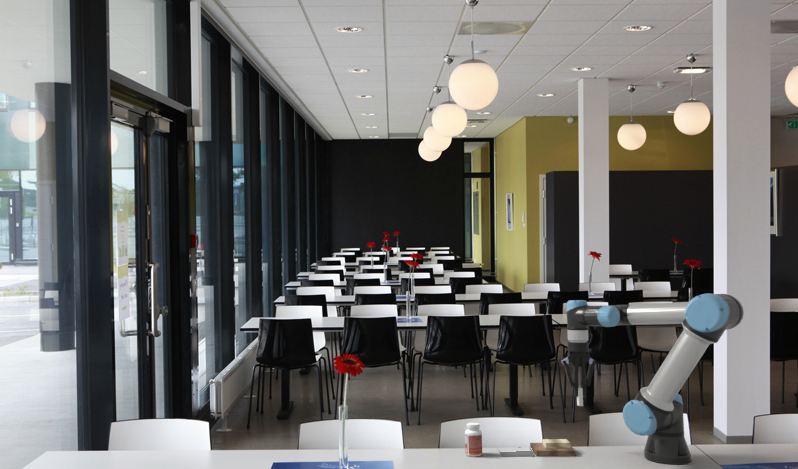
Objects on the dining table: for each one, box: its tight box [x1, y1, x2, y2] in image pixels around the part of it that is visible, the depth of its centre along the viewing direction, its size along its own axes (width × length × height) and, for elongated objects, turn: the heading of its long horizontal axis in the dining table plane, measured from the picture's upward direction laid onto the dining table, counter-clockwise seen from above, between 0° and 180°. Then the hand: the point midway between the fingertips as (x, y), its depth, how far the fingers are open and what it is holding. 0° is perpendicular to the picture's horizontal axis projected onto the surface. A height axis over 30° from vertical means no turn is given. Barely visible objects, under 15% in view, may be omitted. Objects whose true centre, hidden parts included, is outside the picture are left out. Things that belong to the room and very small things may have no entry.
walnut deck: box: [529, 442, 577, 457], centre depth 224 cm, size 14×12×2 cm
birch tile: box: [541, 438, 572, 449], centre depth 224 cm, size 9×6×2 cm, turn 89°
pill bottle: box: [464, 422, 483, 458], centre depth 222 cm, size 6×6×11 cm
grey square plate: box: [499, 446, 536, 458], centre depth 224 cm, size 12×12×1 cm
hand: (580, 405), depth 226 cm, fingers closed
